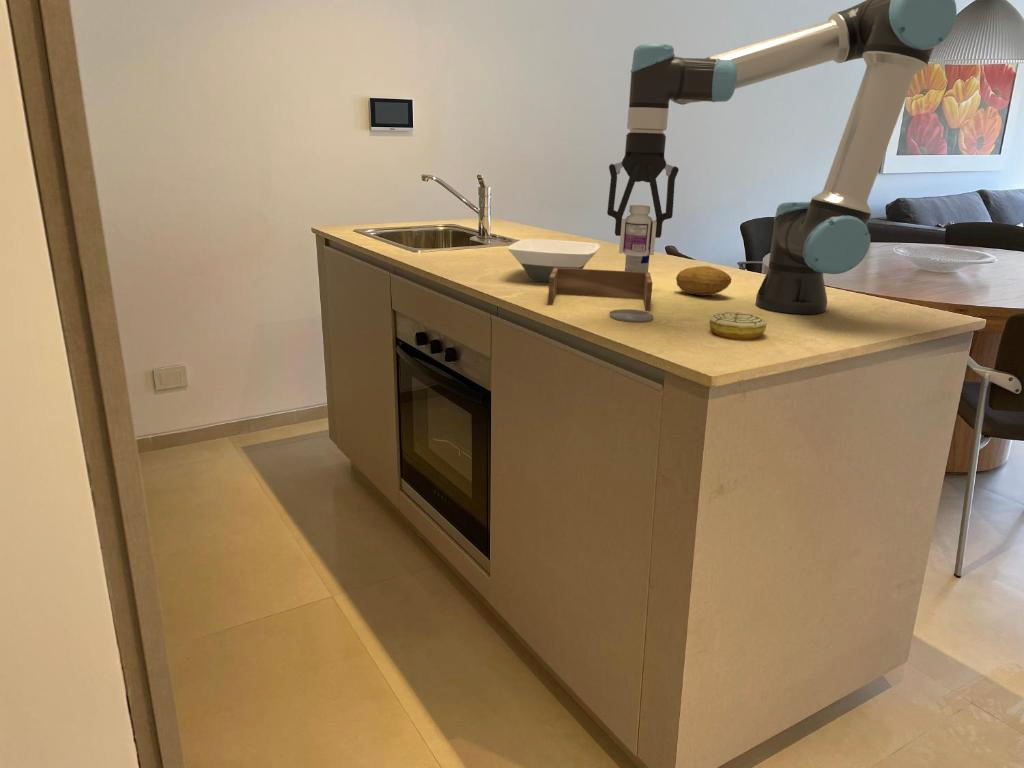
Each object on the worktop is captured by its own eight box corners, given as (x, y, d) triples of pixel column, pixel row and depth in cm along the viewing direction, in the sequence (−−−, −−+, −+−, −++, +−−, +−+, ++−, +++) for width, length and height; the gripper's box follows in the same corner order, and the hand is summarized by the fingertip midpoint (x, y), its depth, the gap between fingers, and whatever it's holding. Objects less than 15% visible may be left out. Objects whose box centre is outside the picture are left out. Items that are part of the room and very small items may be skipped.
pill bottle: (631, 251, 159) (635, 203, 156) (654, 254, 156) (658, 206, 153) (617, 254, 155) (621, 205, 152) (640, 257, 152) (645, 207, 149)
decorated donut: (766, 332, 152) (769, 313, 151) (762, 344, 142) (765, 324, 141) (712, 325, 155) (714, 307, 154) (704, 337, 146) (707, 317, 144)
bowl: (501, 283, 190) (502, 249, 188) (522, 268, 212) (523, 237, 209) (589, 290, 186) (591, 255, 183) (601, 274, 207) (604, 243, 204)
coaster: (662, 318, 159) (662, 315, 159) (634, 324, 153) (634, 321, 153) (628, 310, 165) (628, 307, 165) (600, 315, 159) (600, 312, 159)
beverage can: (646, 291, 186) (651, 228, 181) (622, 290, 187) (627, 227, 182) (646, 287, 191) (652, 226, 186) (624, 286, 192) (628, 225, 187)
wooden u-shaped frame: (552, 292, 181) (553, 267, 179) (647, 298, 178) (649, 272, 176) (547, 304, 168) (549, 277, 166) (649, 310, 165) (652, 283, 164)
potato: (691, 288, 192) (694, 261, 190) (736, 297, 183) (739, 268, 180) (668, 292, 186) (671, 264, 184) (713, 302, 177) (716, 272, 175)
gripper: (693, 133, 150) (681, 253, 158) (598, 130, 152) (591, 248, 160) (697, 133, 143) (684, 258, 151) (598, 130, 145) (589, 253, 153)
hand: (636, 252), depth 155 cm, fingers closed on pill bottle, 5 cm apart
